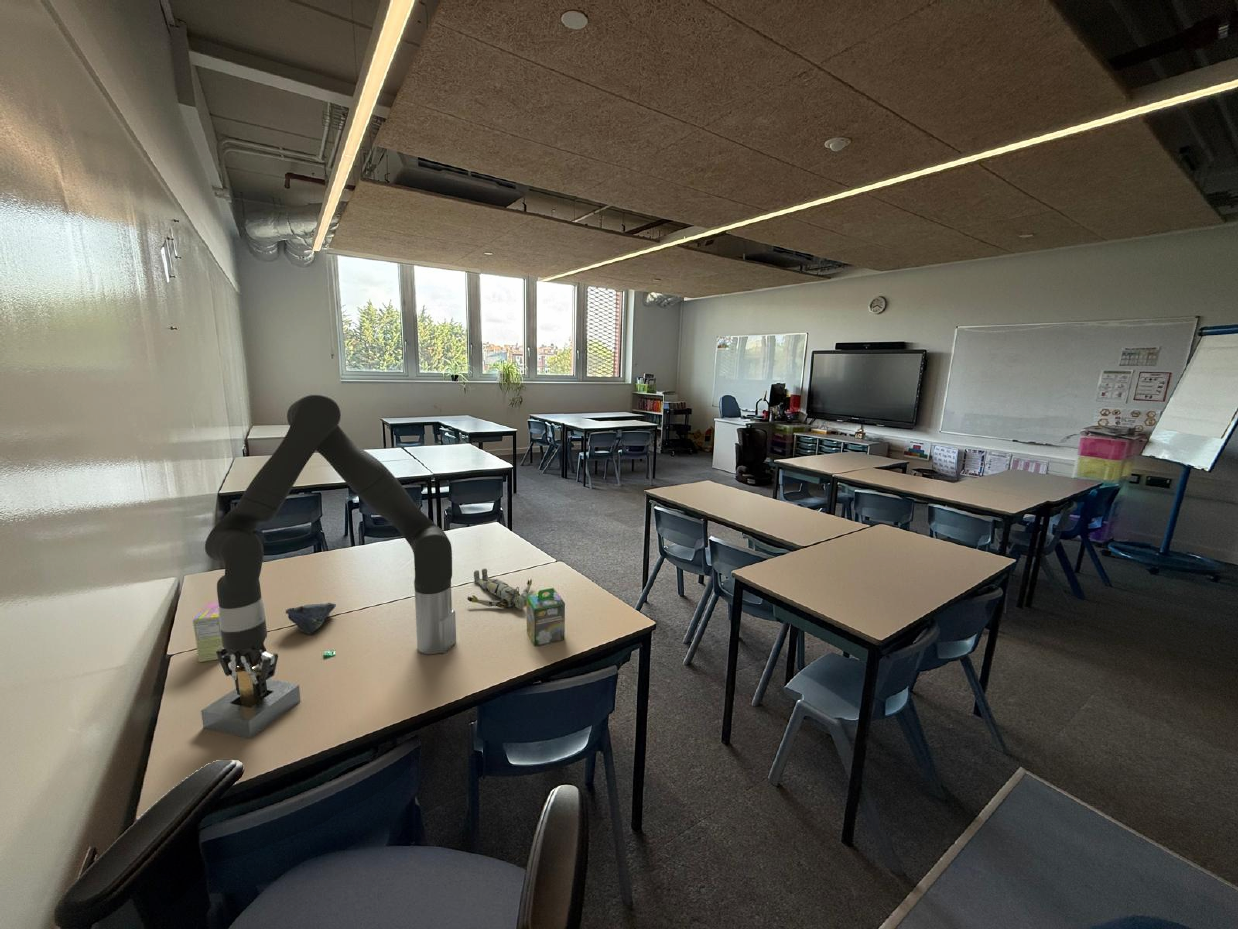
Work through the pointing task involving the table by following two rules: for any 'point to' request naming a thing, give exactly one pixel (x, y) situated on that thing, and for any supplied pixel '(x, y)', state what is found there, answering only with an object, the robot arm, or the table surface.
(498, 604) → the action figure
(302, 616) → the rock
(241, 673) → the cylinder
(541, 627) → the chalk box
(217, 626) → the box
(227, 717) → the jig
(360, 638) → the table surface
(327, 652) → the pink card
